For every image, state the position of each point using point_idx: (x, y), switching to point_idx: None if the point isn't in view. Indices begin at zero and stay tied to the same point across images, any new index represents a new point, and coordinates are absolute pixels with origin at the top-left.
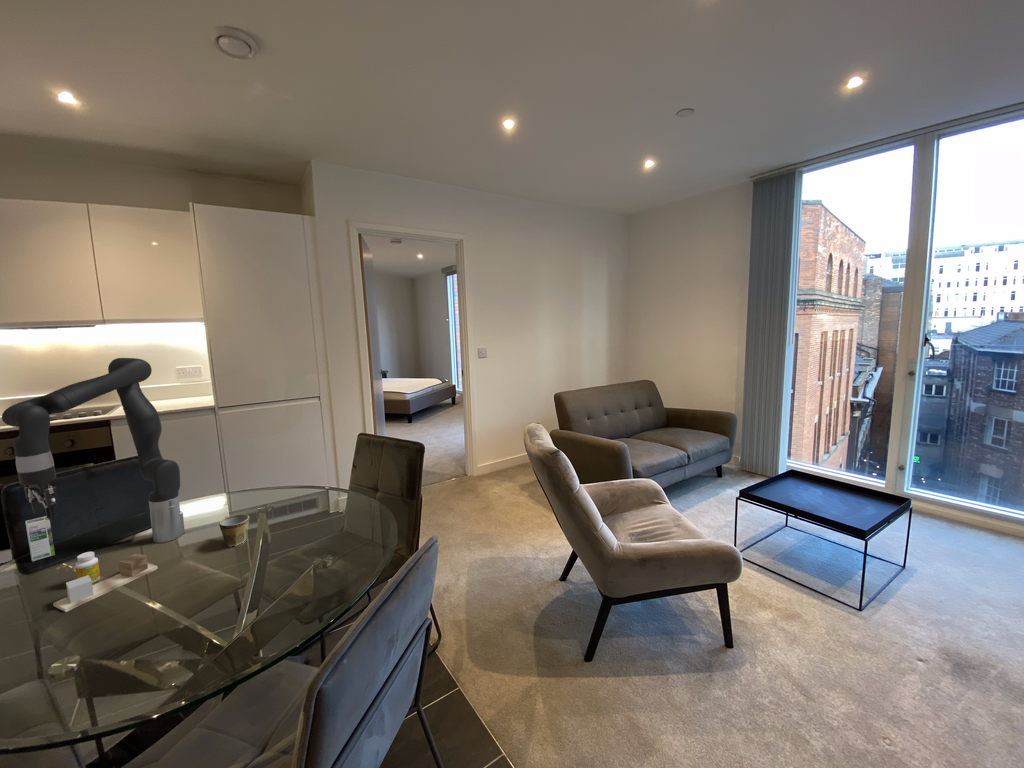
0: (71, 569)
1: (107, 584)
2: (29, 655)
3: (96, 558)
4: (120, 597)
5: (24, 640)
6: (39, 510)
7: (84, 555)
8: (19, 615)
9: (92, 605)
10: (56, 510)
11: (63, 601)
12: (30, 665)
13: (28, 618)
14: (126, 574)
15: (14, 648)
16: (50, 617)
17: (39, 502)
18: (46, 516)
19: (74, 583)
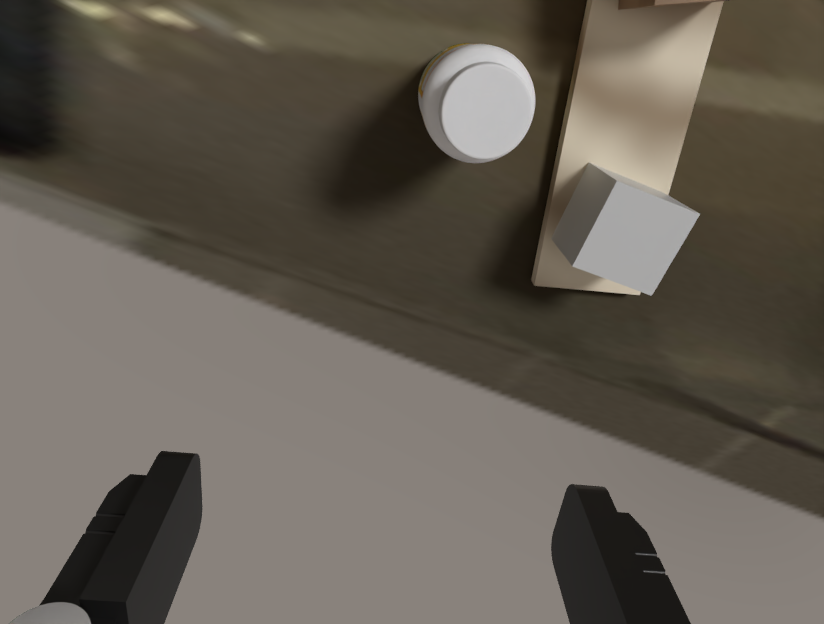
0: (214, 40)
1: (638, 105)
2: (760, 451)
3: (512, 62)
4: (786, 145)
5: (659, 420)
6: (193, 504)
7: (490, 123)
8: (464, 352)
9: (705, 226)
10: (634, 552)
11: (569, 265)
12: (811, 471)
13: (524, 353)
14: (670, 5)
15: (671, 447)
16: (607, 326)
17: (139, 607)
18: (563, 579)
19: (629, 258)
